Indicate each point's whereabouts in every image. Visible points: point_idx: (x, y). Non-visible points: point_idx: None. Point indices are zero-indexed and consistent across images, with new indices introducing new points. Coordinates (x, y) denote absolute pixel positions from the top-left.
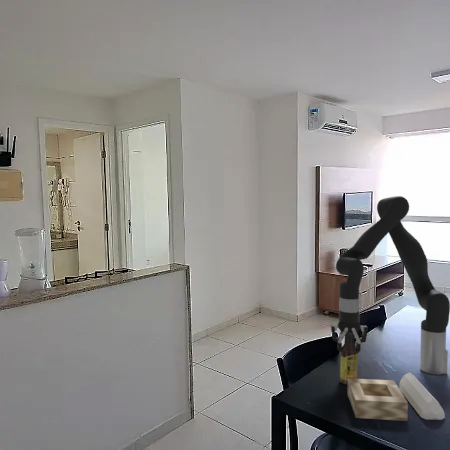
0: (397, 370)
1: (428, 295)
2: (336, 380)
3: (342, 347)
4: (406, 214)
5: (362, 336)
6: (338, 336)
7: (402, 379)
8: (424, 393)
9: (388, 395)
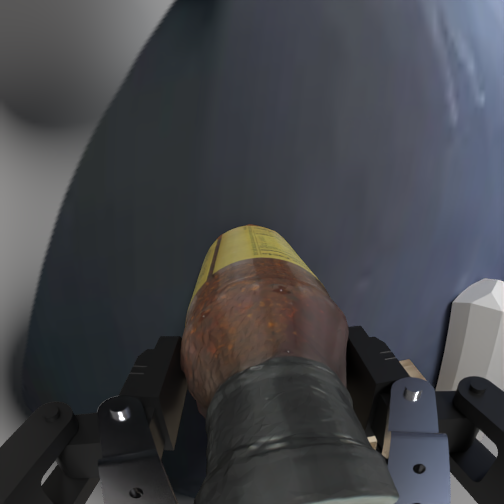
0: (489, 103)
1: None
2: (188, 249)
3: (189, 385)
4: None
5: (483, 427)
6: (100, 442)
7: (485, 314)
8: None
9: (375, 443)
